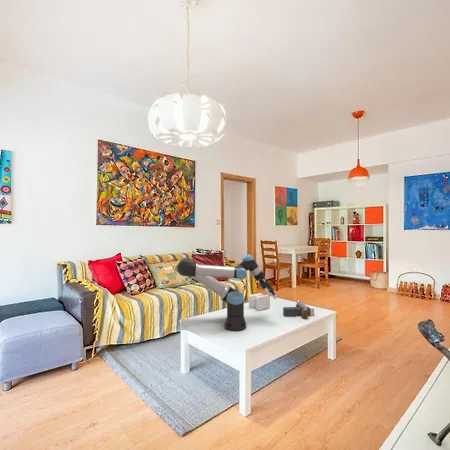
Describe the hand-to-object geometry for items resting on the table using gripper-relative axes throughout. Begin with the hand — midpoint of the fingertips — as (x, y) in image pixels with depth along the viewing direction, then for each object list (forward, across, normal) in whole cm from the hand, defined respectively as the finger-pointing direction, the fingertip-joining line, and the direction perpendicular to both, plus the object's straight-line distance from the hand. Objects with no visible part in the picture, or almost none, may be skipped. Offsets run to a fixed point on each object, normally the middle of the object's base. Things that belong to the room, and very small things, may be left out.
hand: (273, 296), depth 212 cm
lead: (+27, +7, -10) cm, 29 cm away
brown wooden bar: (+28, +6, -12) cm, 31 cm away
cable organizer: (+12, +30, +10) cm, 34 cm away
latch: (+22, +6, -16) cm, 28 cm away
